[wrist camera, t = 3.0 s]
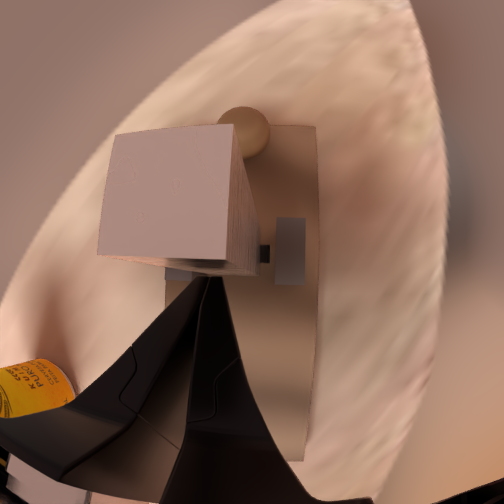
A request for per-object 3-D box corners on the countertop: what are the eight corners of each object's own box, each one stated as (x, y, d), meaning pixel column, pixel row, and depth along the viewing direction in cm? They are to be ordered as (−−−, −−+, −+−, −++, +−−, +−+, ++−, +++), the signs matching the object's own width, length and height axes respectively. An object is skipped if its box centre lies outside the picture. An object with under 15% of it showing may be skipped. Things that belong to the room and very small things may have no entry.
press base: (301, 449, 17) (307, 489, 12) (176, 439, 17) (153, 473, 13) (312, 136, 19) (321, 98, 14) (186, 137, 20) (165, 102, 15)
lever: (269, 276, 16) (257, 260, 5) (208, 274, 16) (77, 254, 5) (270, 233, 16) (261, 123, 5) (210, 232, 16) (96, 138, 5)
